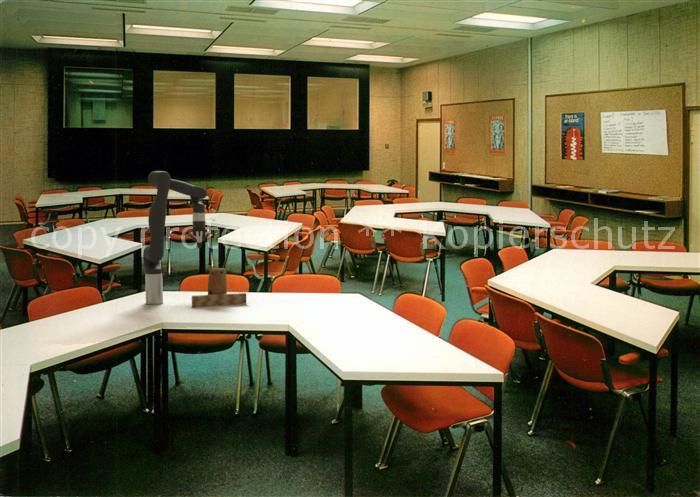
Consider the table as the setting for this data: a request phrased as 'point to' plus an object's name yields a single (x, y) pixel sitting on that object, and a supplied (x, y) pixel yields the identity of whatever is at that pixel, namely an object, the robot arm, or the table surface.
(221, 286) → the block
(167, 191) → the robot arm
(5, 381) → the table surface
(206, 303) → the board
